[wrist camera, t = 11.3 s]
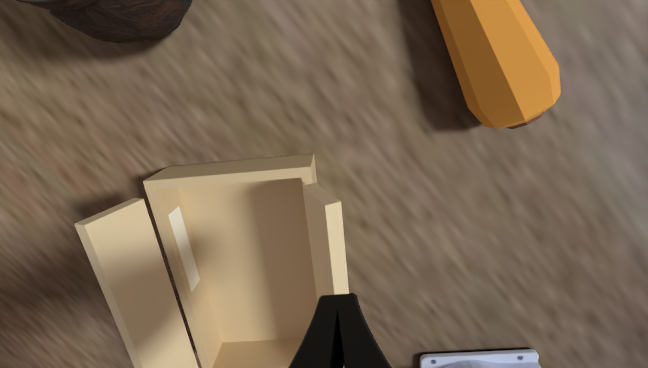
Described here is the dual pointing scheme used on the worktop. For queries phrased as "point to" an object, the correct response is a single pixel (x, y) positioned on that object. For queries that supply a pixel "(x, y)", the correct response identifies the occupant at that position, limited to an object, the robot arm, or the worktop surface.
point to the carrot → (499, 60)
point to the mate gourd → (119, 17)
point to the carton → (239, 256)
